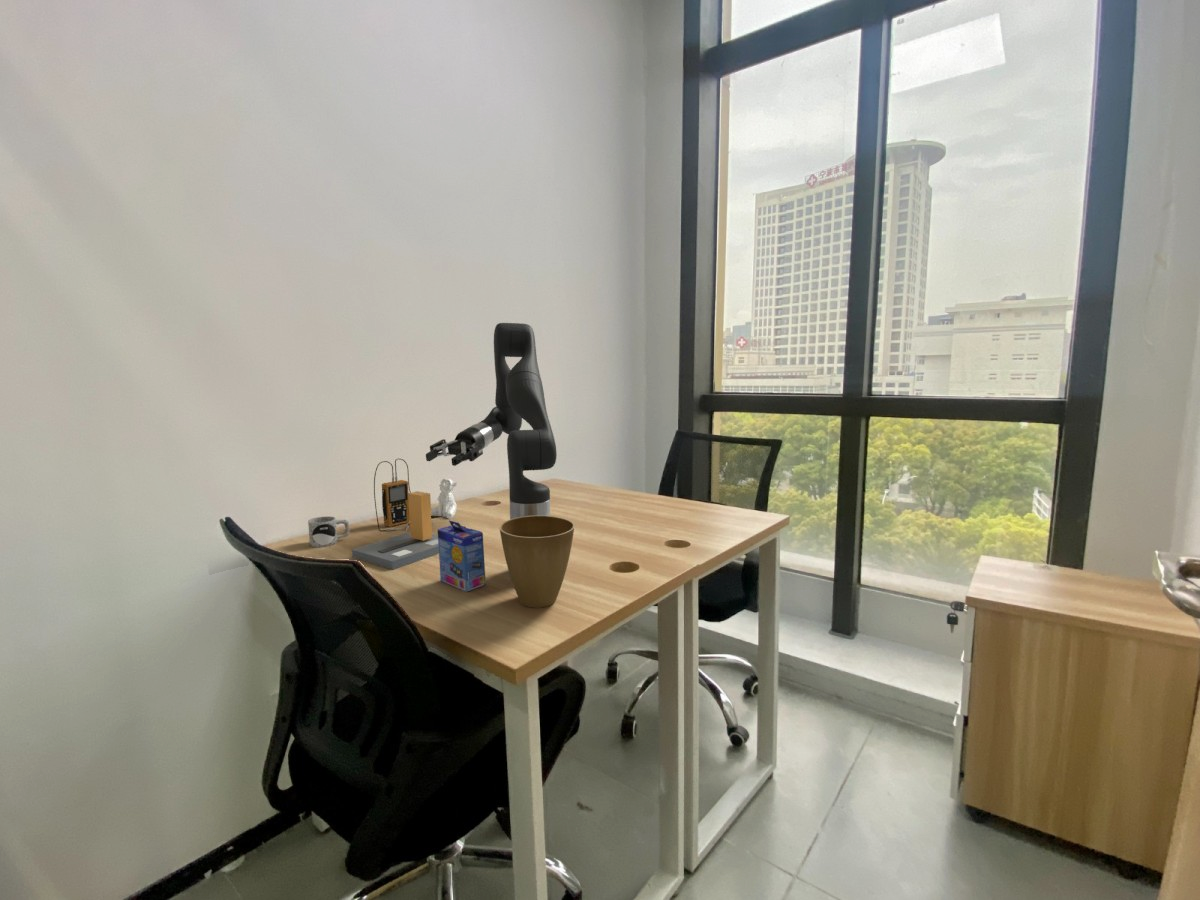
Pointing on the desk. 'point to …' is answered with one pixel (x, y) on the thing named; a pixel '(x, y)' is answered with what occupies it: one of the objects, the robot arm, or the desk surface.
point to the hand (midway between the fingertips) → (439, 460)
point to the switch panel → (397, 551)
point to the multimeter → (394, 501)
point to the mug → (325, 531)
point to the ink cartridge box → (461, 557)
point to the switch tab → (420, 515)
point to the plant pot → (537, 556)
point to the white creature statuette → (445, 500)
